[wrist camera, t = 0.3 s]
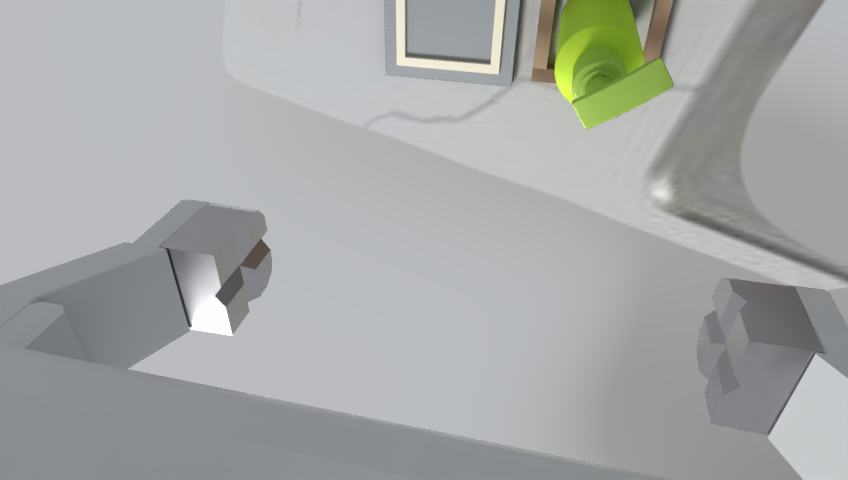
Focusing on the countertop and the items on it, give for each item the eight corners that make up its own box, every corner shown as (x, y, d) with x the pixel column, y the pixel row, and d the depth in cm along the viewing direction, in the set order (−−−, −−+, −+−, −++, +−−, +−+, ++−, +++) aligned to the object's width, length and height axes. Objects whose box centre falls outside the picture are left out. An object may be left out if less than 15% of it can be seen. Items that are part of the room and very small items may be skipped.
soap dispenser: (655, 25, 49) (689, 118, 33) (579, 66, 52) (576, 168, 36) (626, -39, 47) (647, 27, 31) (548, 7, 50) (531, 89, 34)
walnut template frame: (549, -61, 47) (548, -59, 46) (684, -55, 46) (686, -52, 45) (532, 76, 54) (531, 81, 53) (649, 87, 52) (650, 92, 51)
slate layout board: (385, -80, 49) (380, -78, 48) (528, -73, 47) (526, -71, 46) (388, 71, 57) (384, 76, 56) (511, 83, 55) (510, 88, 54)
